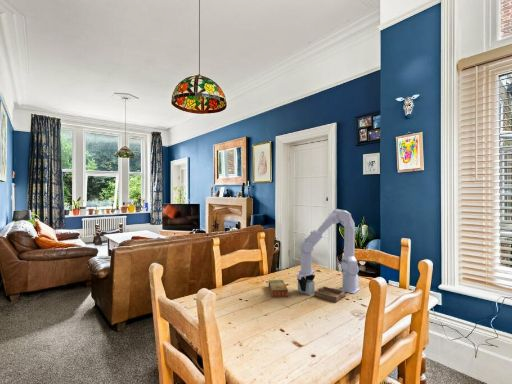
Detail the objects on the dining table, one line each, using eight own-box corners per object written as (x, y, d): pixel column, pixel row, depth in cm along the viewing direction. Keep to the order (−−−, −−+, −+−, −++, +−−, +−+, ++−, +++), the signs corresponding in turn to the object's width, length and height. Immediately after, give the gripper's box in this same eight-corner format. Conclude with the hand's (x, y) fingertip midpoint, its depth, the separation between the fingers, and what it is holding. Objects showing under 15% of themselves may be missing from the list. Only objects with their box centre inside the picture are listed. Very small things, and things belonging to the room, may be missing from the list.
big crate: (323, 290, 146) (323, 286, 146) (345, 296, 138) (345, 291, 138) (314, 296, 139) (314, 291, 139) (336, 302, 131) (336, 297, 131)
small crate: (303, 289, 149) (303, 278, 149) (314, 292, 144) (314, 281, 144) (297, 291, 145) (297, 280, 145) (309, 295, 140) (309, 283, 140)
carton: (272, 298, 137) (271, 289, 137) (268, 287, 153) (268, 279, 153) (288, 297, 138) (288, 289, 138) (282, 286, 154) (282, 279, 154)
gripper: (306, 260, 152) (306, 284, 152) (292, 265, 142) (292, 291, 142) (318, 262, 148) (318, 287, 148) (303, 268, 137) (303, 294, 137)
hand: (306, 289), depth 144 cm, fingers closed on small crate, 5 cm apart
